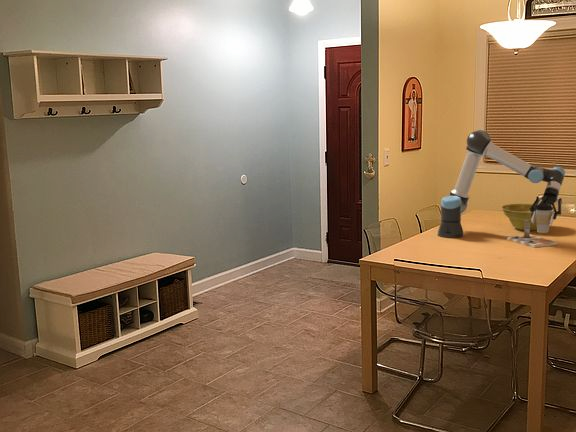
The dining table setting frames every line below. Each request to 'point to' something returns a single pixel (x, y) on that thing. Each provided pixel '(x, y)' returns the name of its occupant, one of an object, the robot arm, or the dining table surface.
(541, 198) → the robot arm
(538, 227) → the coffee cup
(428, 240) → the dining table surface
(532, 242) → the control board
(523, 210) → the planter bowl
